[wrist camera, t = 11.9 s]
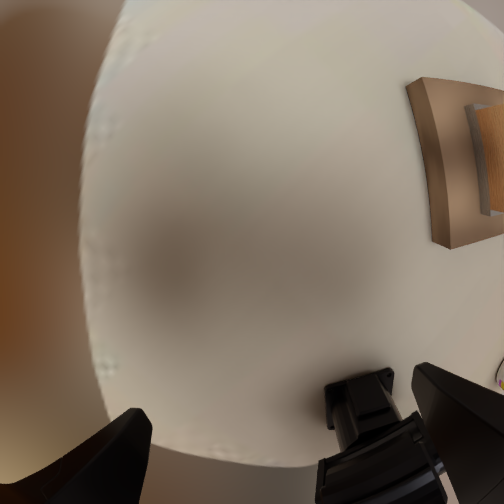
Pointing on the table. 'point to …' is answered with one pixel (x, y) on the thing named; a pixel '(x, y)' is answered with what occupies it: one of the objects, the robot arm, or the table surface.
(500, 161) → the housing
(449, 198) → the walnut stand
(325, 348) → the table surface
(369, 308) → the table surface
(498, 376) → the supplement bottle
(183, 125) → the table surface
